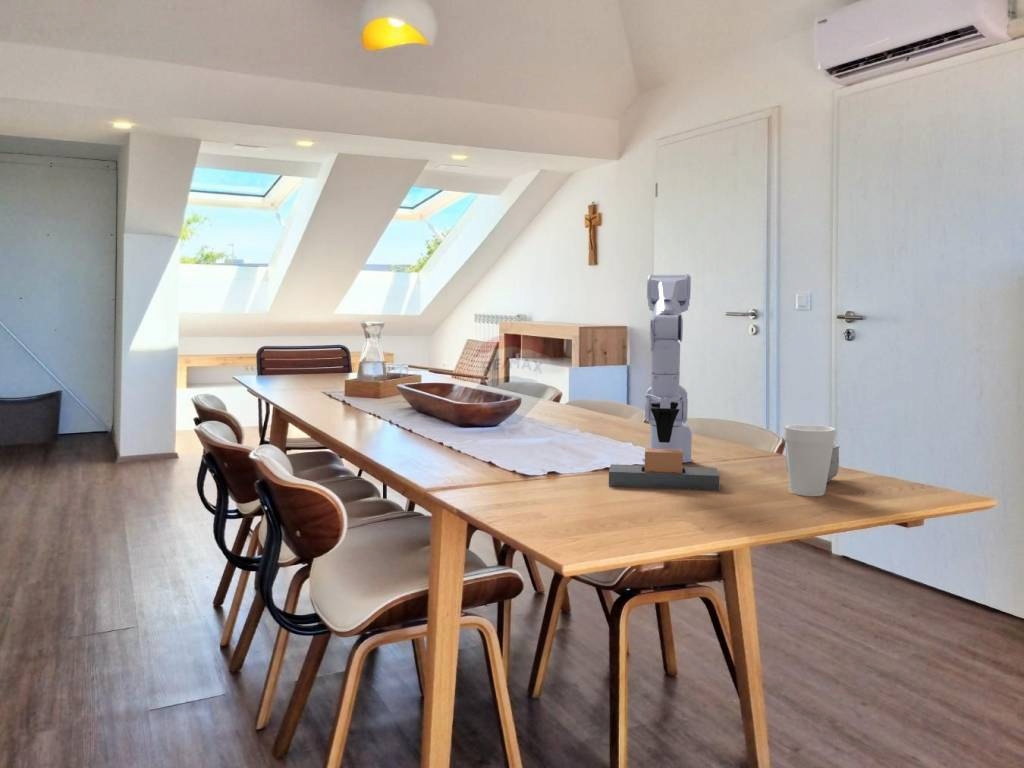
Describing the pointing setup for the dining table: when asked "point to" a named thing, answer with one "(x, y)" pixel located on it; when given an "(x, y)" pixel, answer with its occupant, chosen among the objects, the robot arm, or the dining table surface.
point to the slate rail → (664, 478)
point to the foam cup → (808, 457)
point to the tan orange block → (663, 460)
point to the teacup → (833, 463)
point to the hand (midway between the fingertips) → (663, 439)
